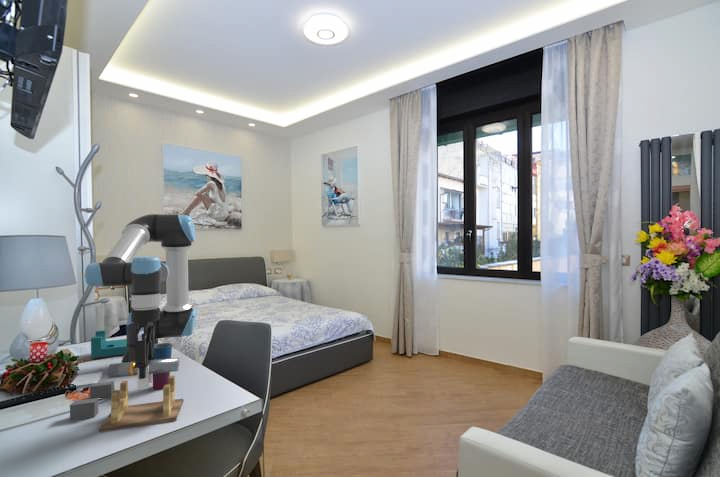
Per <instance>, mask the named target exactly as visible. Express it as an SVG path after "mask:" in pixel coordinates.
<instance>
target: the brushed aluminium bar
mask: <svg viewBox="0 0 720 477" xmlns="http://www.w3.org/2000/svg"><path fill="white" fill-rule="evenodd" d="M134 366H135V362H126V363H121V362H118V363H116V362H115V363H110V364H109V365H108V366H107V367H108V368H107V373H106V374H107V378H108V379H116V378H126V377H136V376H138V368H134ZM148 366H149V374H155V373H165V372H170V373H172V372H179V369H180V357H171V358H168V359H158V360H148Z"/></svg>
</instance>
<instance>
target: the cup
mask: <svg viewBox="0 0 720 477" xmlns="http://www.w3.org/2000/svg"><path fill="white" fill-rule="evenodd" d="M172 349H173V343H171V342H158V344H155V345H154V356H153V357H156V359H155V360H158V359H168V358H172V352H173V351H172ZM169 376H171V372H165V373H155V374H152V389H153V390H155V391H158V390H159V391H161V390H163V387H164V385H168V378H169Z"/></svg>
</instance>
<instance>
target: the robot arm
mask: <svg viewBox="0 0 720 477" xmlns="http://www.w3.org/2000/svg"><path fill="white" fill-rule="evenodd" d="M151 242H152V243H153V242H154V243H160V245H161V246H160V247H161V248H162V249H163V250H164V251H165V263H164V262H161V258H160V257H158V256H140V257H139V256H137V255H138V253H139V251H140V250H141V249H142V247H143V246H145V245H146V244H147V243H151ZM194 242H196V228H195V224H194V221H193V217H191V215H186V214H160V213H159V214H155V213H152V214H145V215H143V216H139V217H137V218H135V219H133V220H132V221H130V222H129V223H128V224H126V226H125V227H124V228H123V230H122V232H121V237H120V238H119V239H118V241H117V242H116V243H115V244H114V246H113V247H112V248H111V250H110V251H109V253H107V255H106V257H105V258H104V259H103V260H102V262H99V261H98V262H97V261H96V262H92V263H89V264H88V265H87V266H86V268H85V270H84V279H85V283H86V284H87V285H88V286H89V287H101V288H104V287H120V286H121V287H125V286H128V287H129V286H130V288H131V289H130V291H131V292H130V293H131V294H130V295H131V297H129V298H128V300H129V301H131V305H130V307H131V309H132V310H131V311H130V312H129V313H128V315H127V317H126V324H125V325H126V339H127V346H126V351H125V353H124V354H123V356H122V359H121V362H120V363H126V362H135V366H134V368H138V375H137V383H136V384H137V391H139V390H148V389H149V384H153V379H152V374H149V366H148V360H155V359H156V357H153V356H154V345H155V344H159V339H165V338H167V339H168V338H169V339H170V338H182V337H189V336H191V335H192V334H193V333H194V331H195V330H194V329H195V326H196V320H197V309H195V308H193V304H192V303H191V302H190V301H189V300H190V297H189V292H190V291H189V253H188V252H189V249H190V248H191V247H192V243H194ZM164 282H165V283H166V286H165V287H166V304H165V305H164V306H163V307H162V310H161V308H160V306H161V284H163V283H164Z"/></svg>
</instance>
